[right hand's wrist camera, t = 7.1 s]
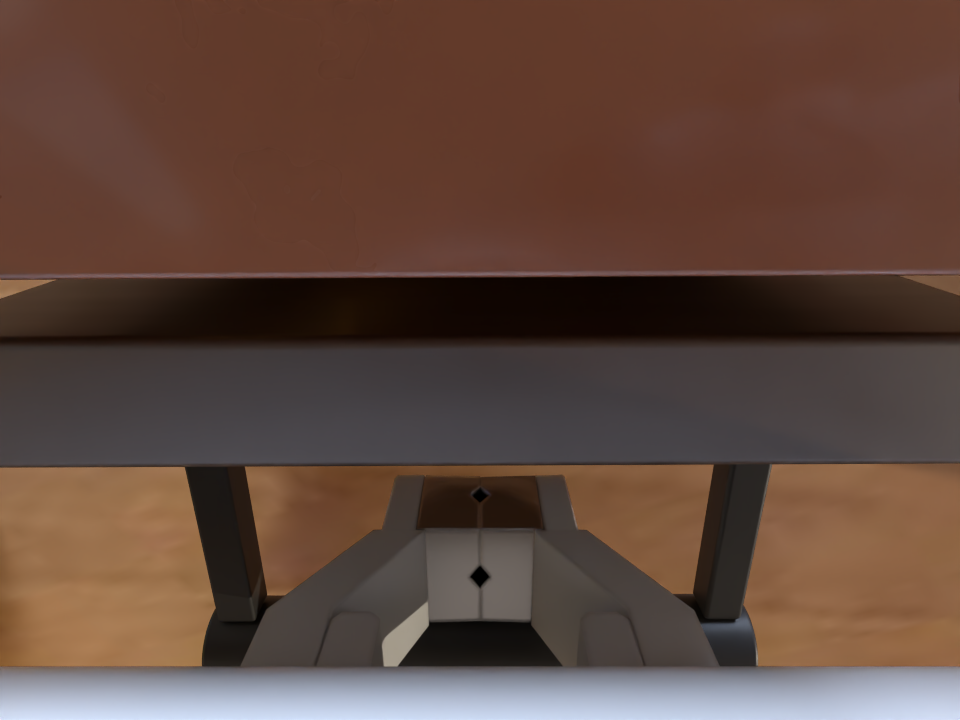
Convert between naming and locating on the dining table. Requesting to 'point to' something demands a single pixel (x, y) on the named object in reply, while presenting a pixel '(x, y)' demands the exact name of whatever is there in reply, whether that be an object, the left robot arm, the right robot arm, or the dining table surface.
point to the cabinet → (478, 138)
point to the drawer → (479, 399)
